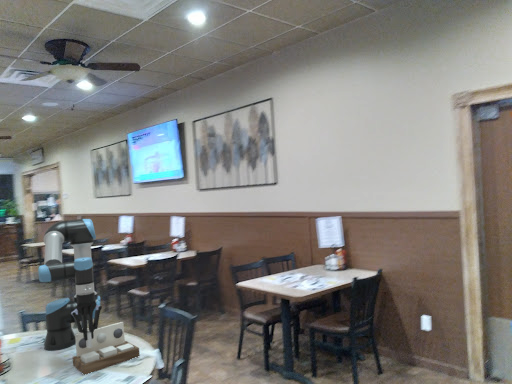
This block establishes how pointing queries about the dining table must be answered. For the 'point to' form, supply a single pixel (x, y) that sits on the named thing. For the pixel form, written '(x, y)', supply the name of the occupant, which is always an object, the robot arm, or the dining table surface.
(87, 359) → the button
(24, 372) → the dining table surface
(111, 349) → the middle button
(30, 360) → the dining table surface
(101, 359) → the button board
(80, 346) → the pattern card
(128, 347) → the button
